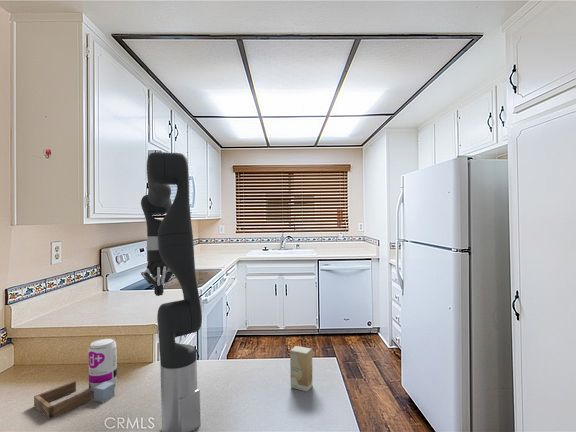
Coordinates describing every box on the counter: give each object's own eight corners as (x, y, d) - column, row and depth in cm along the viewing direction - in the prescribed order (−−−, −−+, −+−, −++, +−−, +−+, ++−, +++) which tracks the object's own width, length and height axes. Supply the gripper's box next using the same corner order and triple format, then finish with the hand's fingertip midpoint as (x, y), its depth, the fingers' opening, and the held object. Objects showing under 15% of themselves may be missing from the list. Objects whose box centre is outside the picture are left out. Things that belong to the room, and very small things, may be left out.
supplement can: (103, 394, 102) (102, 347, 103) (82, 391, 105) (82, 345, 105) (122, 382, 110) (121, 338, 111) (103, 379, 112) (102, 336, 113)
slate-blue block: (114, 395, 102) (114, 383, 102) (103, 402, 98) (103, 389, 98) (105, 393, 103) (105, 381, 103) (94, 400, 99) (93, 387, 99)
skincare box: (290, 388, 103) (288, 350, 103) (296, 381, 106) (294, 345, 107) (308, 392, 100) (306, 353, 100) (313, 385, 103) (312, 348, 104)
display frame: (91, 400, 99) (91, 390, 99) (49, 419, 90) (49, 408, 90) (74, 389, 106) (74, 380, 106) (34, 406, 97) (34, 396, 97)
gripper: (147, 250, 110) (148, 300, 110) (179, 247, 121) (180, 292, 121) (135, 249, 114) (136, 298, 114) (166, 246, 125) (168, 291, 125)
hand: (159, 295), depth 117 cm, fingers closed
